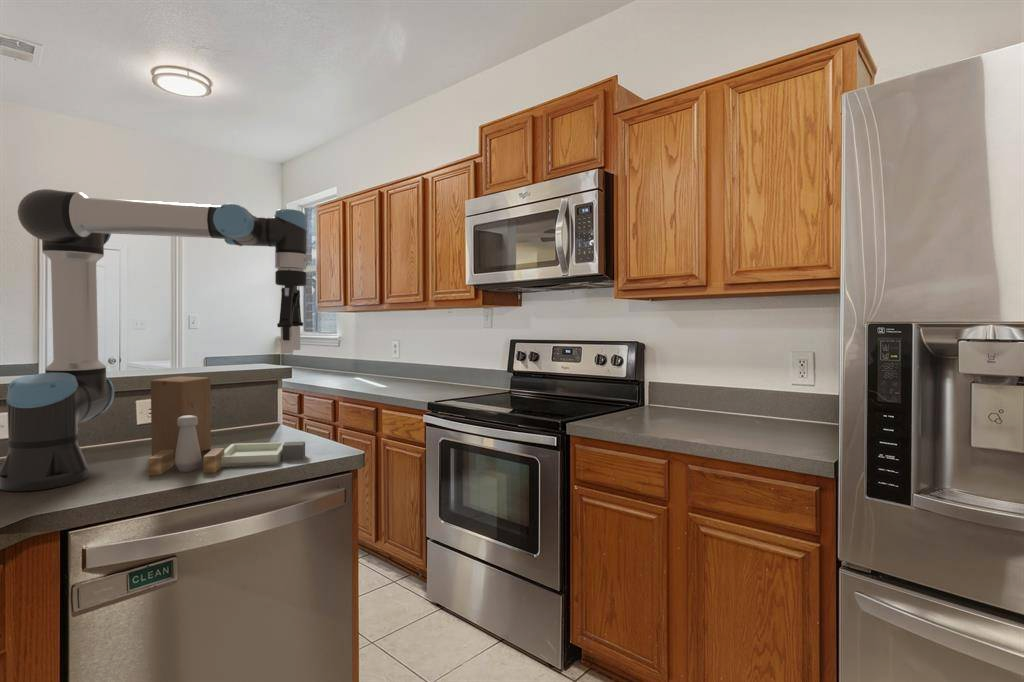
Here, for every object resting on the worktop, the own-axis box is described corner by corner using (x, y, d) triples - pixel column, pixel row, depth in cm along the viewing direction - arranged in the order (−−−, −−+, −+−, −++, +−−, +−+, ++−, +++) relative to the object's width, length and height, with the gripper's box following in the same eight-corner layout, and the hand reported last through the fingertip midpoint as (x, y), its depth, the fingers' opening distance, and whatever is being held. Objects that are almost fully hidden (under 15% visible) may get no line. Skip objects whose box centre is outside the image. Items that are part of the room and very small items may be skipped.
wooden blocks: (148, 475, 128) (148, 458, 127) (162, 466, 135) (161, 450, 135) (215, 472, 131) (215, 455, 131) (224, 463, 139) (224, 447, 139)
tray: (216, 467, 136) (216, 457, 135) (231, 453, 149) (231, 443, 149) (277, 464, 139) (277, 454, 139) (286, 451, 152) (286, 442, 152)
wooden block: (183, 458, 143) (182, 381, 142) (150, 455, 145) (149, 379, 144) (211, 449, 153) (211, 377, 152) (180, 446, 155) (179, 375, 154)
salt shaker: (204, 465, 137) (204, 413, 136) (199, 471, 131) (198, 417, 131) (177, 467, 135) (176, 414, 134) (171, 473, 130) (170, 418, 129)
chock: (282, 461, 143) (282, 445, 143) (285, 457, 147) (285, 442, 147) (303, 460, 144) (303, 444, 144) (305, 456, 148) (305, 441, 148)
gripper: (299, 267, 133) (299, 355, 134) (311, 274, 157) (311, 348, 158) (265, 265, 131) (266, 355, 132) (283, 273, 155) (283, 348, 156)
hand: (291, 351), depth 145 cm, fingers open, 13 cm apart
